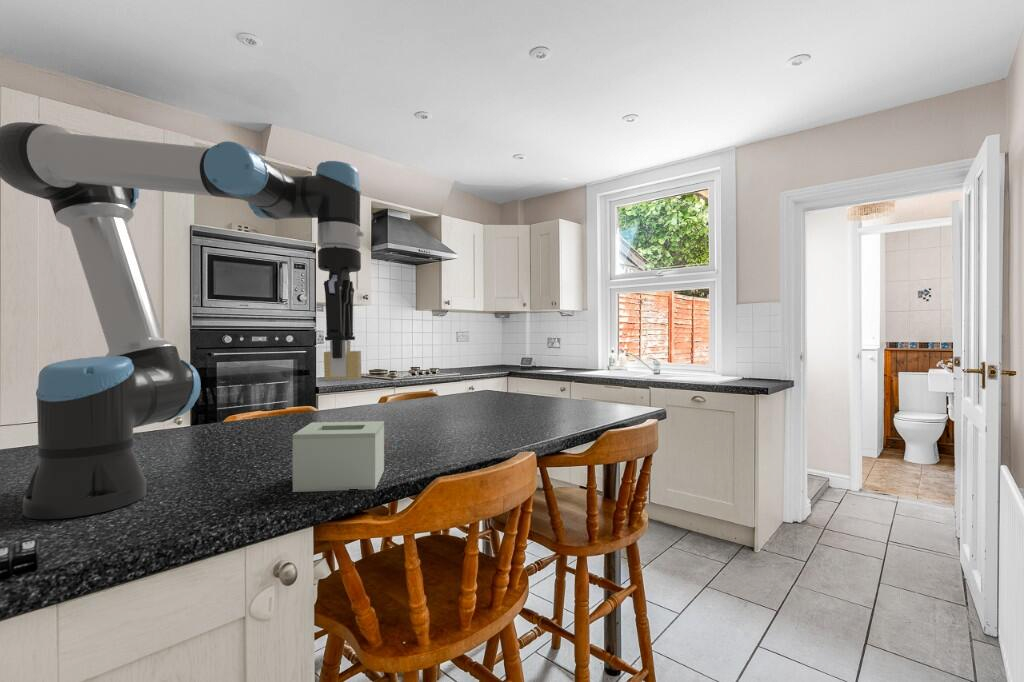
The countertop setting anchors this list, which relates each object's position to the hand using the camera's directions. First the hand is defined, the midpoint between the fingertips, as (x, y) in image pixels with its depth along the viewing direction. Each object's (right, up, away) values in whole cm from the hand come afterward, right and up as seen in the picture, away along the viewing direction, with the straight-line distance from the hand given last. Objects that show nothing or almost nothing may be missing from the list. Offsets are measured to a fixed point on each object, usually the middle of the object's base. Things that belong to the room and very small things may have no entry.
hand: (341, 375), depth 92 cm
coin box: (0, -20, +1) cm, 20 cm away
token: (0, -1, 0) cm, 1 cm away
